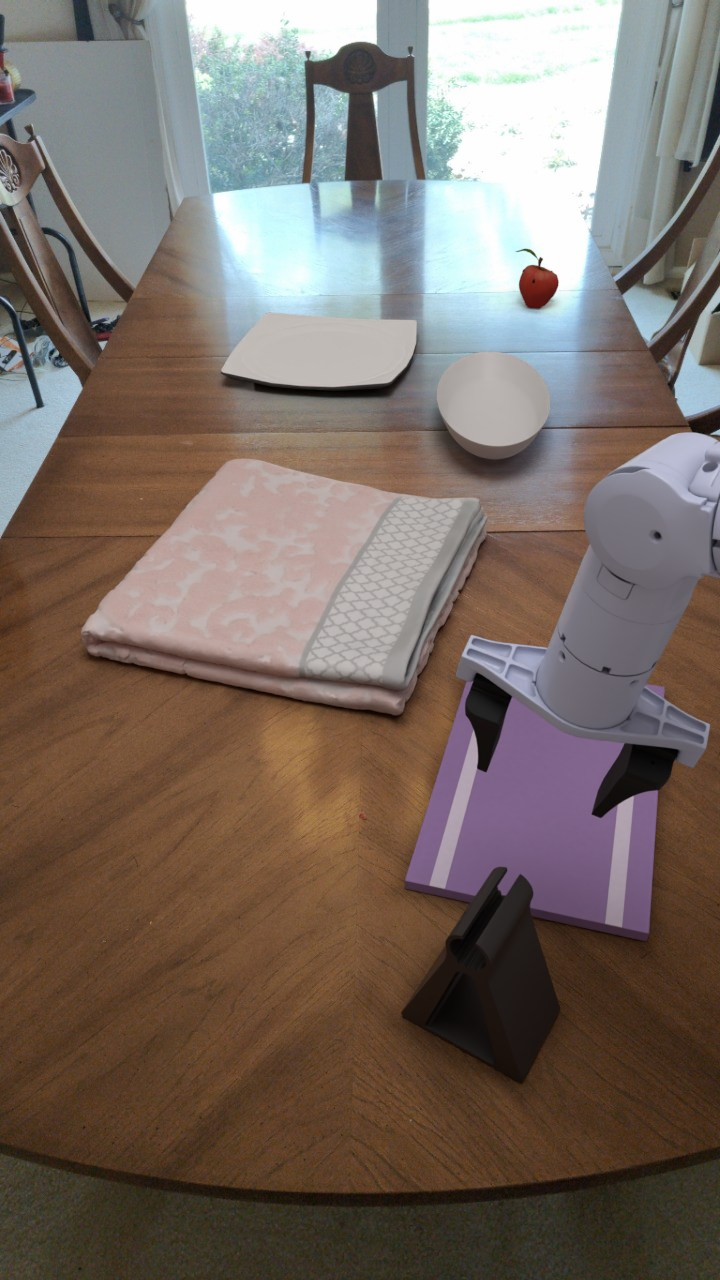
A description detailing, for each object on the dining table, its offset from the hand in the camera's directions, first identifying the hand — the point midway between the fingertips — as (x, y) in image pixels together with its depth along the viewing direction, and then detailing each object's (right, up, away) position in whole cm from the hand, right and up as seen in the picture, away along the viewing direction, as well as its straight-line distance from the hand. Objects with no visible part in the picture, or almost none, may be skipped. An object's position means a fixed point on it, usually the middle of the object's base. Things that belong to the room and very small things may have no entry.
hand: (542, 781), depth 63 cm
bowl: (+6, +37, +72) cm, 81 cm away
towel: (-18, +14, +44) cm, 49 cm away
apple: (+19, +68, +112) cm, 132 cm away
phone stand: (-3, -16, +4) cm, 17 cm away
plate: (-17, +53, +94) cm, 110 cm away
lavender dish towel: (+4, -3, +21) cm, 21 cm away
